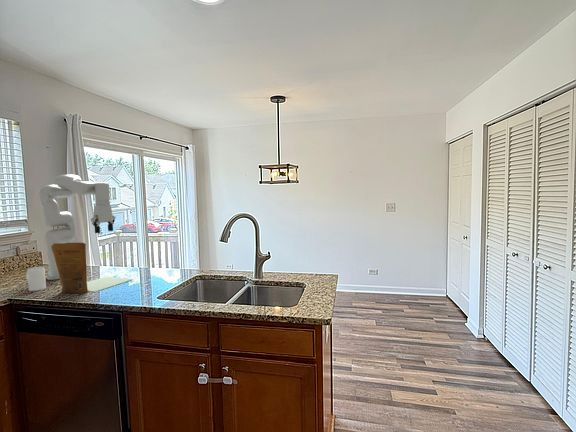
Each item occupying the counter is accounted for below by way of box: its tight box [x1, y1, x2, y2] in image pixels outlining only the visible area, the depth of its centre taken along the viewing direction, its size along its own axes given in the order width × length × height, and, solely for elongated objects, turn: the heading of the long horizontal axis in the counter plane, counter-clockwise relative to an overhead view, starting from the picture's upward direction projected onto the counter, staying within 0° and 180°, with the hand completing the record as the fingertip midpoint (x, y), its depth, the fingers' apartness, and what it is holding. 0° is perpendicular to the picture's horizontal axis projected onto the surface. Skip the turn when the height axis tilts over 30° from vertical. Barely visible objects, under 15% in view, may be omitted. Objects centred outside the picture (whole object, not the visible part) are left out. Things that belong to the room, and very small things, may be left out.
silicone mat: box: [87, 276, 134, 293], centre depth 206 cm, size 22×27×1 cm
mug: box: [25, 266, 47, 292], centre depth 199 cm, size 12×8×12 cm
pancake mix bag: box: [51, 242, 89, 295], centre depth 189 cm, size 7×19×28 cm, turn 81°
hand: (104, 232), depth 204 cm, fingers open, 9 cm apart
